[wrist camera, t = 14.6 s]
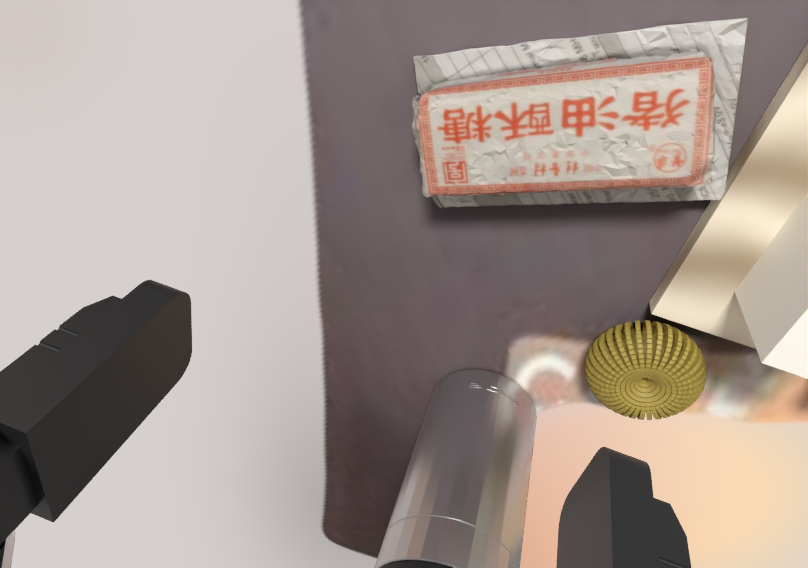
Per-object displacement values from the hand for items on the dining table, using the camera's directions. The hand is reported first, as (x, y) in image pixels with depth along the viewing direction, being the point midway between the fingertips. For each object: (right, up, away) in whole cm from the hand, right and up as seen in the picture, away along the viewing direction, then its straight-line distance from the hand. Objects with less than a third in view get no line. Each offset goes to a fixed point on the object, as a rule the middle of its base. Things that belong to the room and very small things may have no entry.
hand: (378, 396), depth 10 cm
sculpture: (+18, -3, +31) cm, 36 cm away
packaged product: (+11, +12, +24) cm, 29 cm away
